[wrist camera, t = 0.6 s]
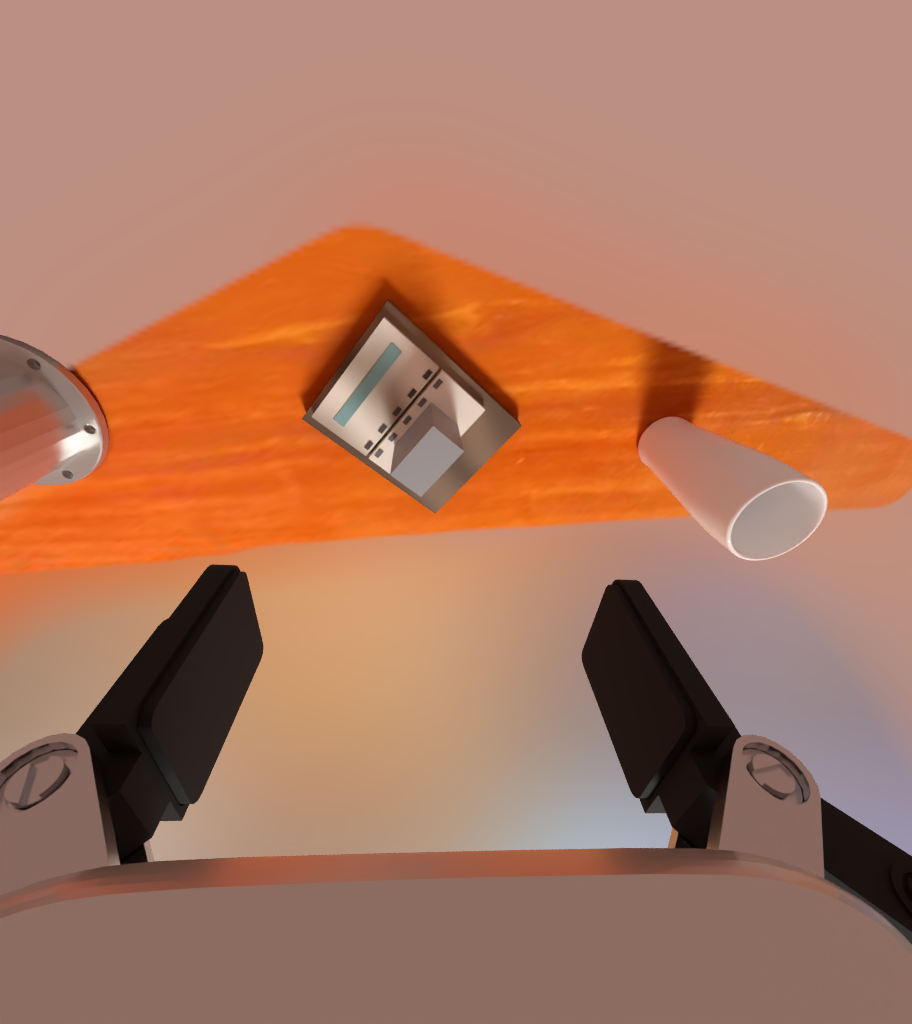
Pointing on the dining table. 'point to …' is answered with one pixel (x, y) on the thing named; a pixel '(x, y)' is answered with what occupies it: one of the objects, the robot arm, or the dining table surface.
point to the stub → (428, 434)
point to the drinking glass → (734, 488)
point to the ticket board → (403, 400)
